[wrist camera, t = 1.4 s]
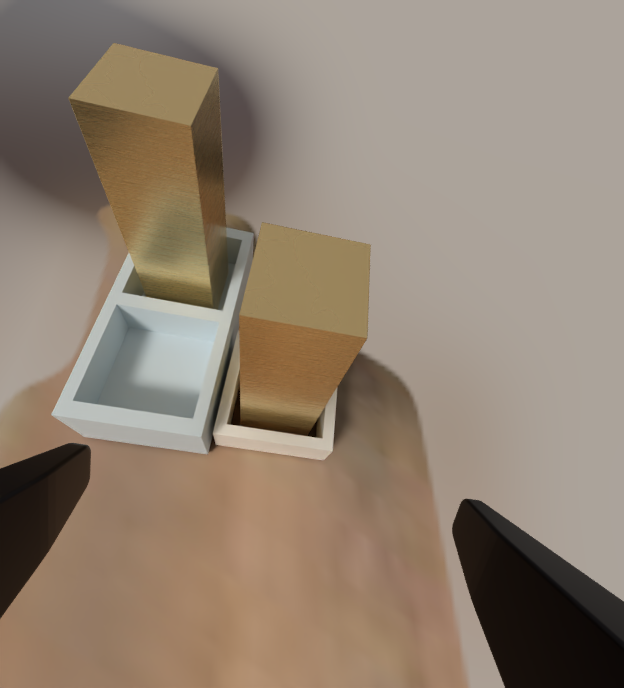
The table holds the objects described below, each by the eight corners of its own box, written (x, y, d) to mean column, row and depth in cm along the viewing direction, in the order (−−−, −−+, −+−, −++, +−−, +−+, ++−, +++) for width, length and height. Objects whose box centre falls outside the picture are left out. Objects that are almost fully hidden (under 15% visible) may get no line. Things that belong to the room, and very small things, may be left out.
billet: (305, 437, 22) (367, 338, 11) (240, 427, 22) (238, 315, 11) (313, 375, 24) (370, 241, 13) (253, 365, 24) (262, 219, 13)
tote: (323, 460, 22) (332, 451, 19) (215, 444, 21) (212, 433, 19) (331, 364, 25) (340, 347, 23) (238, 348, 24) (237, 329, 22)
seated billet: (214, 319, 23) (190, 125, 12) (151, 308, 23) (68, 98, 12) (228, 270, 25) (218, 66, 14) (170, 259, 25) (115, 41, 14)
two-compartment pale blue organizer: (208, 454, 21) (201, 436, 17) (84, 436, 20) (51, 414, 17) (252, 272, 27) (253, 233, 24) (160, 254, 27) (148, 211, 23)
